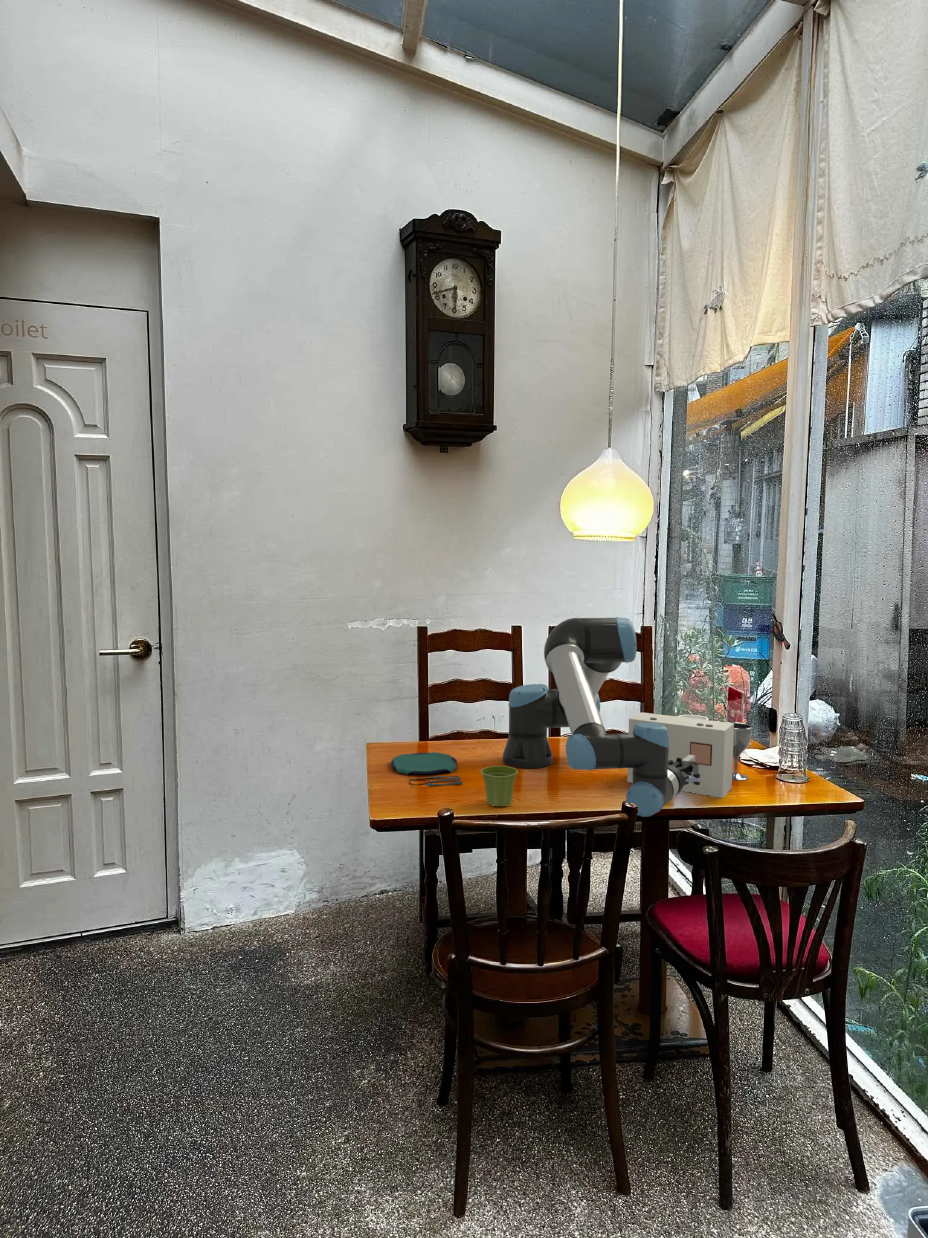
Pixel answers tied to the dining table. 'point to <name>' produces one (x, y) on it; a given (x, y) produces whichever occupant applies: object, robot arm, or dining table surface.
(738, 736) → the wine glass
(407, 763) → the cutlery set
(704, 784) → the console
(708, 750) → the terracotta button
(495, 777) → the plant pot
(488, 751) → the dining table surface
